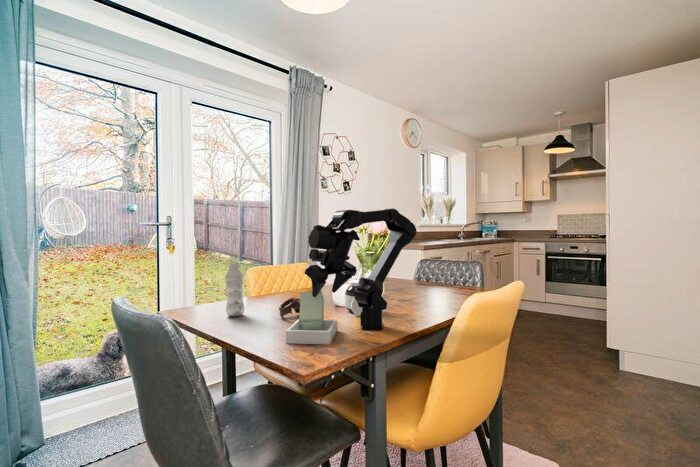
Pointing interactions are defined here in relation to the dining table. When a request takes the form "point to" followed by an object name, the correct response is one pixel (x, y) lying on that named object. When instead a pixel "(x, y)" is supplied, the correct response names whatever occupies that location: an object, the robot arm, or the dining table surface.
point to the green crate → (311, 311)
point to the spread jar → (352, 299)
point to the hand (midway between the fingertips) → (323, 294)
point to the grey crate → (311, 334)
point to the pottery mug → (290, 306)
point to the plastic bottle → (234, 290)
